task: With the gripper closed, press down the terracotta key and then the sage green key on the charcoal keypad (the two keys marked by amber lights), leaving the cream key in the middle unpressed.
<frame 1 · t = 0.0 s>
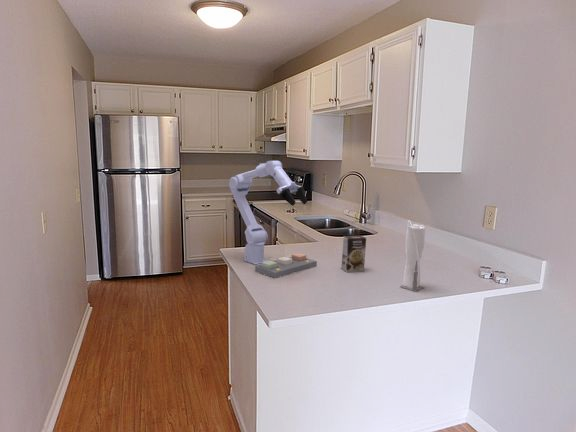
hand: (300, 203, 174), 32 cm above the counter, tool tilted 50°, fingers open, 7 cm apart
sage key: (269, 265, 182), point 3 cm above the counter, slide at 0.0 cm
terracotta key: (299, 258, 196), point 3 cm above the counter, slide at 0.0 cm
coffee box: (352, 270, 189), on the counter
skyscraper: (410, 287, 168), on the counter
cream key: (284, 261, 189), point 3 cm above the counter, slide at 0.0 cm
keypad: (286, 268, 189), on the counter
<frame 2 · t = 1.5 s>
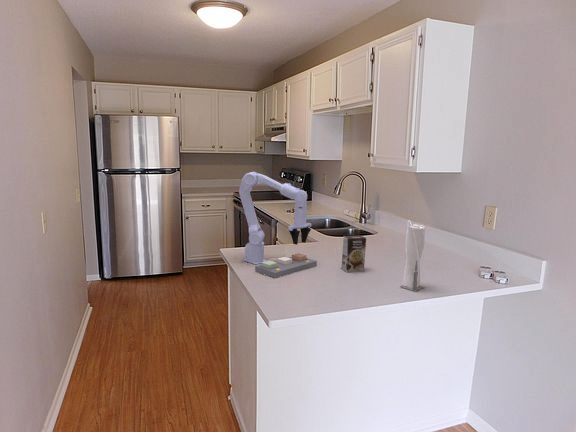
hand: (299, 243, 195), 10 cm above the counter, tool pointing down, fingers open, 5 cm apart
nothing on the counter moved.
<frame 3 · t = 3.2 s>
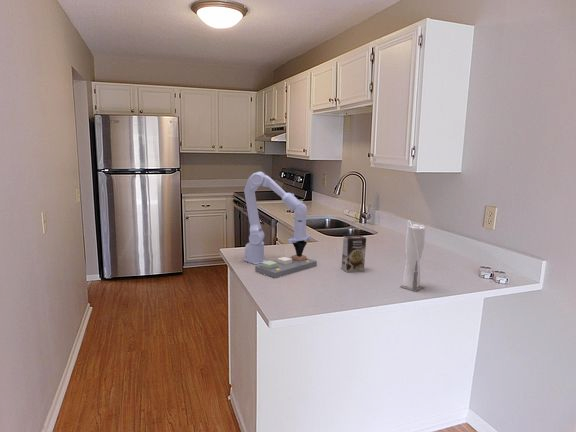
hand: (299, 255, 196), 4 cm above the counter, tool pointing down, fingers closed, pressing on terracotta key
terracotta key: (299, 258, 196), point 3 cm above the counter, slide at 0.4 cm, touching gripper
everything else where it was.
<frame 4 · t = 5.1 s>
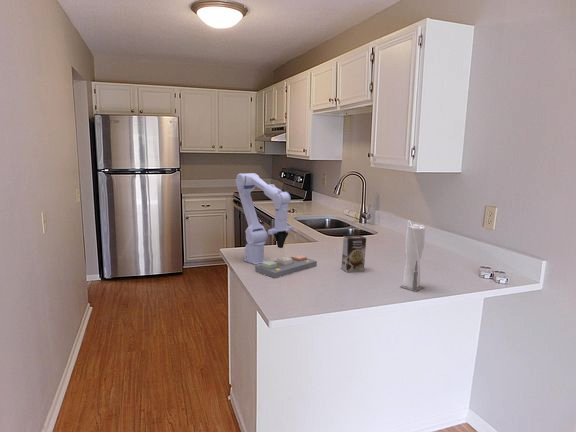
hand: (280, 247, 186), 10 cm above the counter, tool pointing down, fingers closed
terracotta key: (298, 259, 196), point 2 cm above the counter, slide at 0.9 cm
everything else where it was.
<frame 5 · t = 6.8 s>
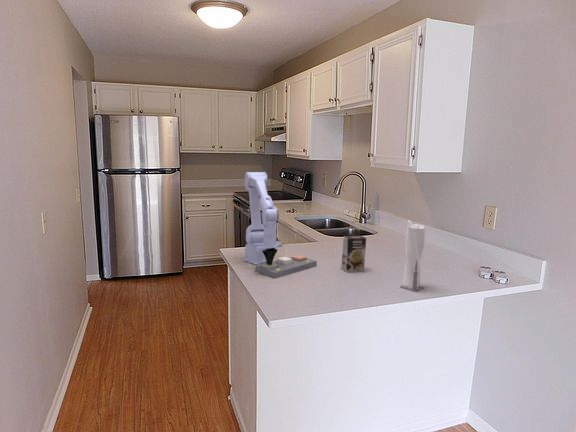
hand: (269, 264, 182), 4 cm above the counter, tool pointing down, fingers closed, pressing on sage key
sage key: (269, 267, 182), point 2 cm above the counter, slide at 0.8 cm, touching gripper
everything else where it was.
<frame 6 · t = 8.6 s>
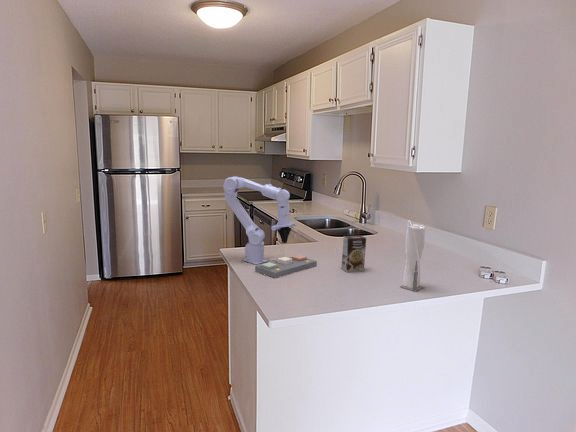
hand: (284, 242, 195), 10 cm above the counter, tool pointing down, fingers closed
sage key: (269, 267, 182), point 2 cm above the counter, slide at 0.9 cm
everything else where it was.
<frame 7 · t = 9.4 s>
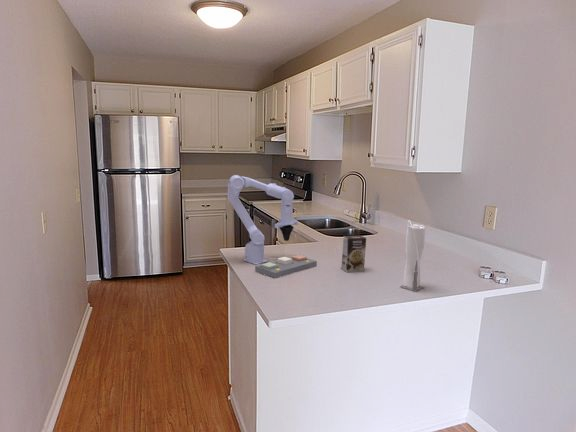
hand: (286, 240, 200), 10 cm above the counter, tool pointing down, fingers closed
nothing on the counter moved.
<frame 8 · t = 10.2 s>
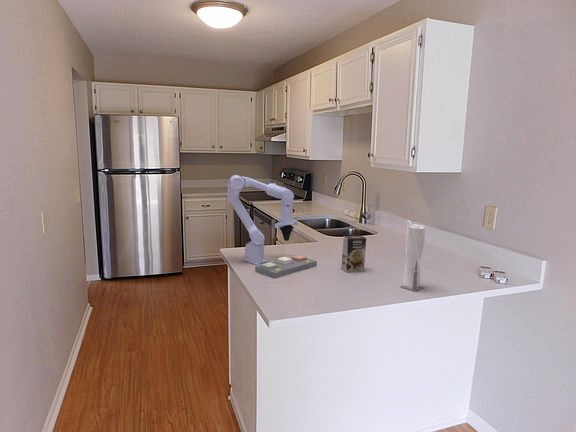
hand: (286, 240, 200), 10 cm above the counter, tool pointing down, fingers closed
nothing on the counter moved.
at the end: terracotta key slide at 0.9 cm; sage key slide at 0.9 cm; cream key slide at 0.0 cm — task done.
